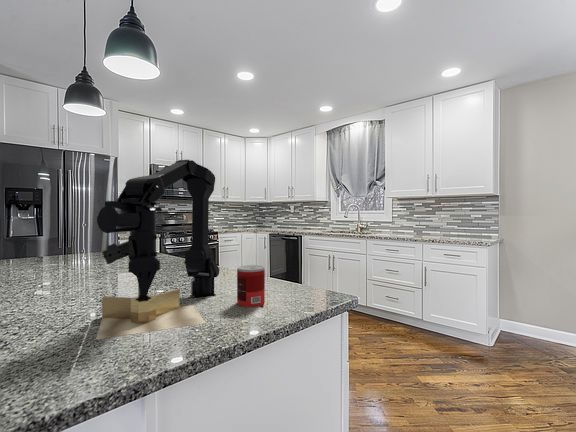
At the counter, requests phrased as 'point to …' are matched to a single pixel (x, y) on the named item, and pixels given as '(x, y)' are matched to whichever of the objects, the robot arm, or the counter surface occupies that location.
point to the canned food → (251, 286)
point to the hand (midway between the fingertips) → (143, 295)
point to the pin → (140, 296)
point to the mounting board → (150, 323)
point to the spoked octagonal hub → (140, 307)
